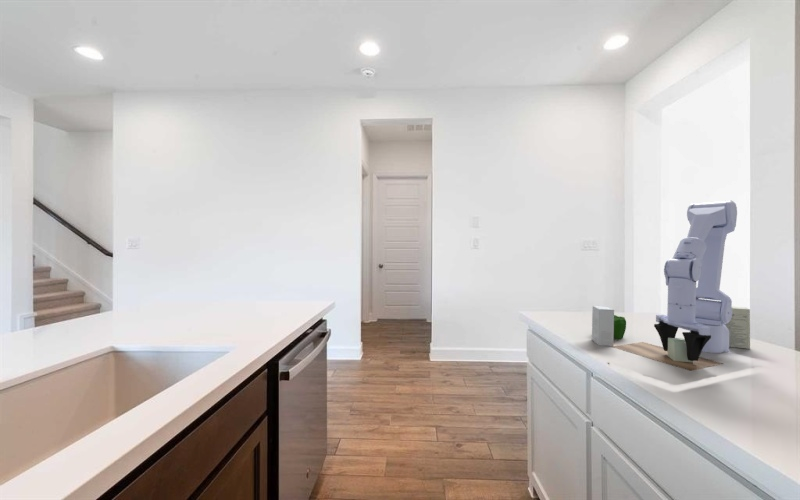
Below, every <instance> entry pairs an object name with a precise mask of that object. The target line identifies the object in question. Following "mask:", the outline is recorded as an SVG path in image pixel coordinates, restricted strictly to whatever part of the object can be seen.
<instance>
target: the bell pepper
mask: <svg viewBox="0 0 800 500" xmlns="http://www.w3.org/2000/svg"><path fill="white" fill-rule="evenodd" d="M626 330H627V320H626V317H624V316H618V315H616V314H614V340H622V339H623V338H624V336H625V333H626Z"/></svg>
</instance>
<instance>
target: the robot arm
mask: <svg viewBox="0 0 800 500" xmlns="http://www.w3.org/2000/svg"><path fill="white" fill-rule="evenodd" d="M686 217H687V221H688V222H689V225H690V227H689V230H688V232H687V233H688V234H687V237H685V238H682V239H681V240H680V241H679V244H678V246H677V248H676V249H675V253H674V254H673V257H672V258H670V259H668V260H666V261H665V264H664V268H663V275H664V277H665V286H667V308H666V309H667V310H666V311H667V312H666V315H664V314H656V315H655V322H656V323H654V324H653V327H654V328H655V330H656V332H657V333H658V336H659V339H660V341H661V345H662V347H663V349H664V351H668V338H676V335H677V332H678V329H681V330H682V329H683V330H685V331H684V332H683V331H682V336H683V339H685V342H686V346H687V358H688V360H690V361H698V359H699V357H701V356H700V355H701V353H702V352H704V353H712V354H715V353H716V354H720V353H721V354H722V353H723V352H726V353H729V354H730V353H731V354H733V351H732V352H731V351H730V347H729V330H728V328H727V327H726V326H725V325H724V324H727V323H729V322H730V320H731V318H732V307H733V305H732V302H733V301H732V298H731V297H730V296H729V295H728V294H727V293H725V292H724V291H722V290H720V287H721V279H722V270H723V262H724V261H723V260H724V254H725V253H724V252H725V246H726V245H725V243H726V239H727V236H728V235H729V234H730V233H733V232H734V231H735V228H736V226H737V218H738V207H737V204H736V203H735V201H734V200H728V201H727V200H725V201H711V202H701V203H700V202H699V203H698V202H697V203H694V202H693V203H690V205H689V206H688V207H687V211H686Z"/></svg>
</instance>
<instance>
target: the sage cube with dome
mask: <svg viewBox="0 0 800 500" xmlns="http://www.w3.org/2000/svg"><path fill="white" fill-rule="evenodd" d="M668 356H669V357H670V358H671V359H673V360H674V361H683V362H693V361H690V360H688V358H687V346H686V342H685V339H684V337H683V338H682V337H675V338H668Z"/></svg>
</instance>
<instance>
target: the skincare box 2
mask: <svg viewBox="0 0 800 500" xmlns="http://www.w3.org/2000/svg"><path fill="white" fill-rule="evenodd" d="M750 319H751V309H750V308H747V307H744V306H732V318H731V320H730V322H729V323H727V324H724V325H725V326H726V327H727V328H728V330H729V348H730V347H731V348H739V349H747V350H748V349H751V320H750Z"/></svg>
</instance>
